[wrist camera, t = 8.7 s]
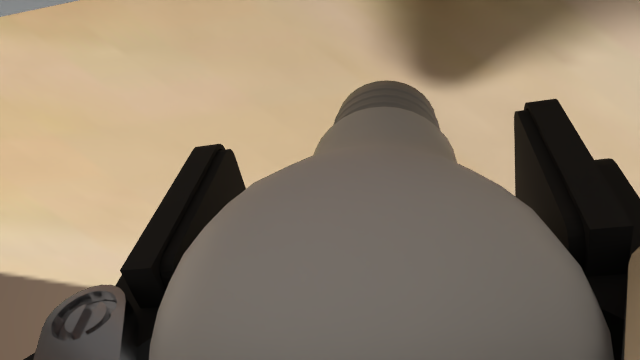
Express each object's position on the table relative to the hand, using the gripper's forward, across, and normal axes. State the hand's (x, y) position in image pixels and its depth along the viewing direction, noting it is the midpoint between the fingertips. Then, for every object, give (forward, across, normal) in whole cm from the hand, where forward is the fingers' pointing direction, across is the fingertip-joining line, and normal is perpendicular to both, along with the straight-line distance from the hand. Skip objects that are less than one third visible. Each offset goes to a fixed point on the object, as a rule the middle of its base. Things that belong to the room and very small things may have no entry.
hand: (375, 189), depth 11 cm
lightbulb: (+4, 0, 0) cm, 4 cm away
